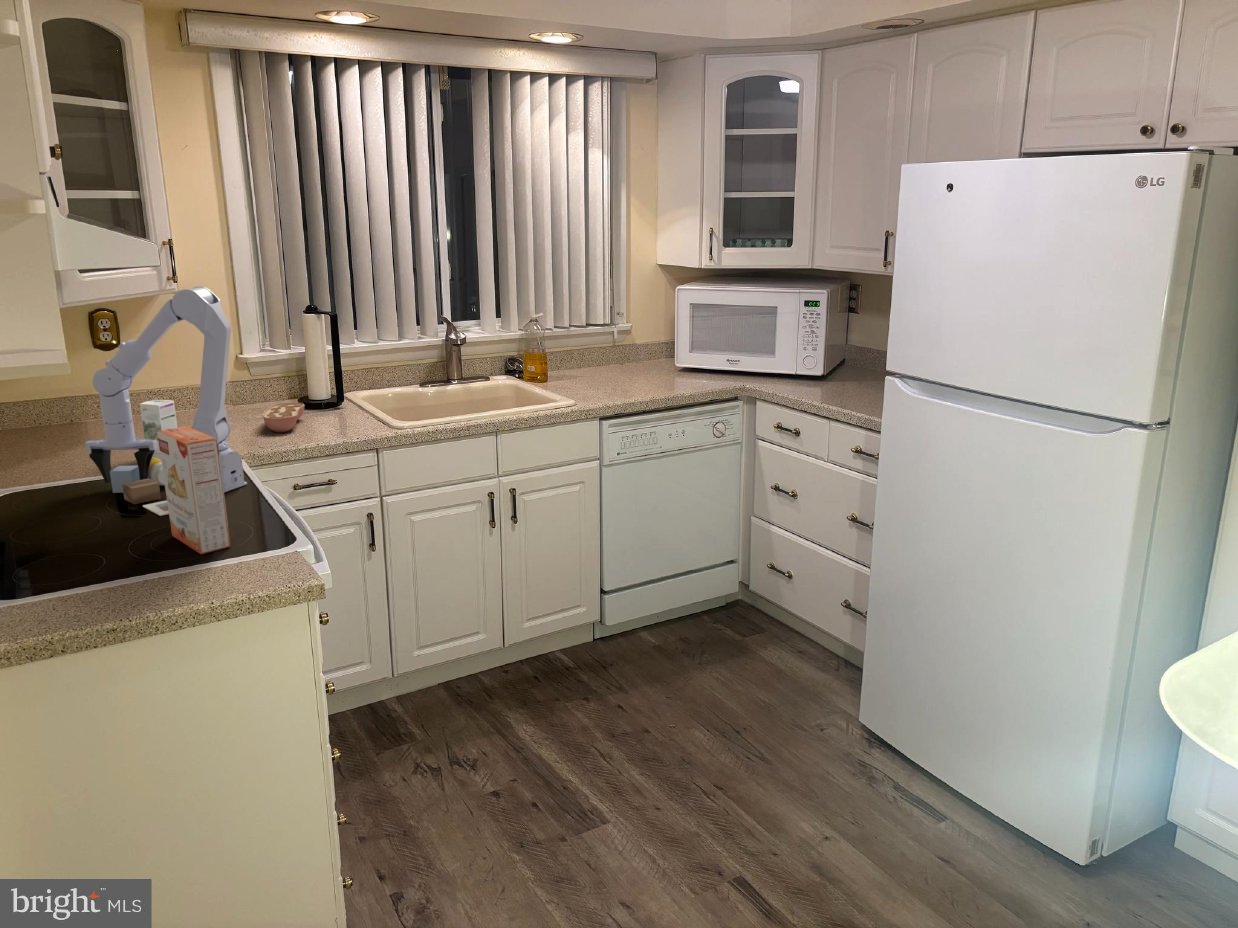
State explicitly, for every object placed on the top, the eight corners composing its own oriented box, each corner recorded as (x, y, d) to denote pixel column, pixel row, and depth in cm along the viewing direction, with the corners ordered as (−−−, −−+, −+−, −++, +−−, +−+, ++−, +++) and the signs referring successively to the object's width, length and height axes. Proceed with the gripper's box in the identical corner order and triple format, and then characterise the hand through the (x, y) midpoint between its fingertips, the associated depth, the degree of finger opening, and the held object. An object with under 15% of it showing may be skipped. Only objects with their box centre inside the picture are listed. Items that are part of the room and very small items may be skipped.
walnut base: (160, 498, 201) (158, 483, 200) (134, 504, 197) (131, 488, 196) (150, 493, 204) (148, 478, 203) (124, 499, 200) (122, 483, 199)
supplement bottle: (165, 457, 216) (181, 465, 209) (162, 480, 217) (178, 488, 210) (141, 456, 212) (156, 464, 206) (138, 479, 213) (153, 487, 206)
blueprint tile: (189, 509, 193) (189, 507, 193) (160, 515, 189) (159, 513, 189) (172, 500, 199) (171, 498, 199) (142, 506, 195) (142, 505, 195)
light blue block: (142, 486, 210) (139, 465, 209) (134, 492, 205) (130, 470, 204) (122, 487, 210) (118, 465, 208) (113, 493, 205) (109, 471, 204)
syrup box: (182, 455, 237) (175, 399, 233) (165, 461, 231) (157, 404, 228) (163, 454, 238) (156, 398, 235) (146, 459, 233) (138, 403, 229)
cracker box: (169, 537, 176) (155, 430, 171) (202, 530, 180) (188, 425, 175) (198, 556, 167) (184, 442, 161) (232, 547, 171) (219, 437, 165)
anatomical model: (296, 434, 260) (294, 417, 259) (259, 436, 258) (257, 418, 257) (307, 418, 282) (306, 401, 280) (273, 419, 280) (271, 403, 279)
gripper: (159, 417, 208) (167, 475, 211) (92, 418, 207) (101, 476, 210) (146, 424, 201) (154, 484, 205) (76, 425, 200) (86, 485, 204)
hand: (126, 481), depth 207 cm, fingers open, 7 cm apart
